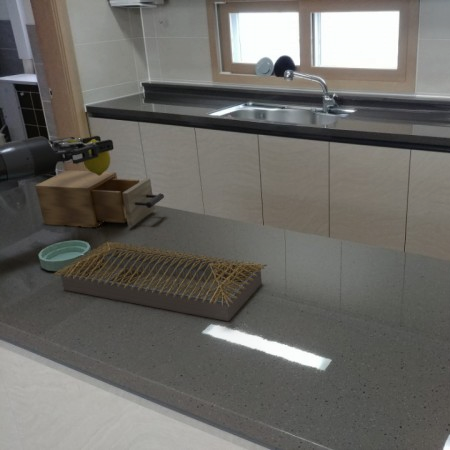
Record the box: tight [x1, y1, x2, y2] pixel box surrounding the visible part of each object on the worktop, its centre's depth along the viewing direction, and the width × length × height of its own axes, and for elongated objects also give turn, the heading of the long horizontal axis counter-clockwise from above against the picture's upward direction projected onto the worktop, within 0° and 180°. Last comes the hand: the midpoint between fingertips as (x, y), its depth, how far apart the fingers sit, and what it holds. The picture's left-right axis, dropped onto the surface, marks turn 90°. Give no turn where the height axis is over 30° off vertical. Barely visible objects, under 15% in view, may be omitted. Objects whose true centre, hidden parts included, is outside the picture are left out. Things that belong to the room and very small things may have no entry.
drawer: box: [90, 177, 165, 227], centre depth 124 cm, size 17×10×8 cm, turn 76°
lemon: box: [83, 139, 111, 176], centre depth 115 cm, size 6×6×8 cm
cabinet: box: [34, 169, 118, 229], centre depth 127 cm, size 14×12×10 cm
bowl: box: [38, 239, 92, 272], centre depth 106 cm, size 9×9×2 cm
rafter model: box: [52, 241, 268, 322], centre depth 95 cm, size 35×14×6 cm, turn 69°
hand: (105, 142), depth 115 cm, fingers closed on lemon, 5 cm apart
